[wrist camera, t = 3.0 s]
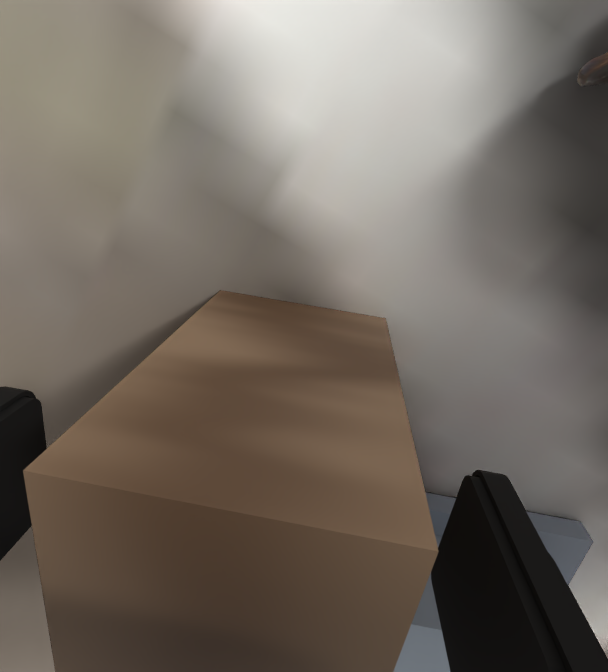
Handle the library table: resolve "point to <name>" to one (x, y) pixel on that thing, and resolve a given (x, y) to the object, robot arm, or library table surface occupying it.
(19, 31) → the library table surface
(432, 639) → the plinth
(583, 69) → the lion figurine
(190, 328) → the walnut block
